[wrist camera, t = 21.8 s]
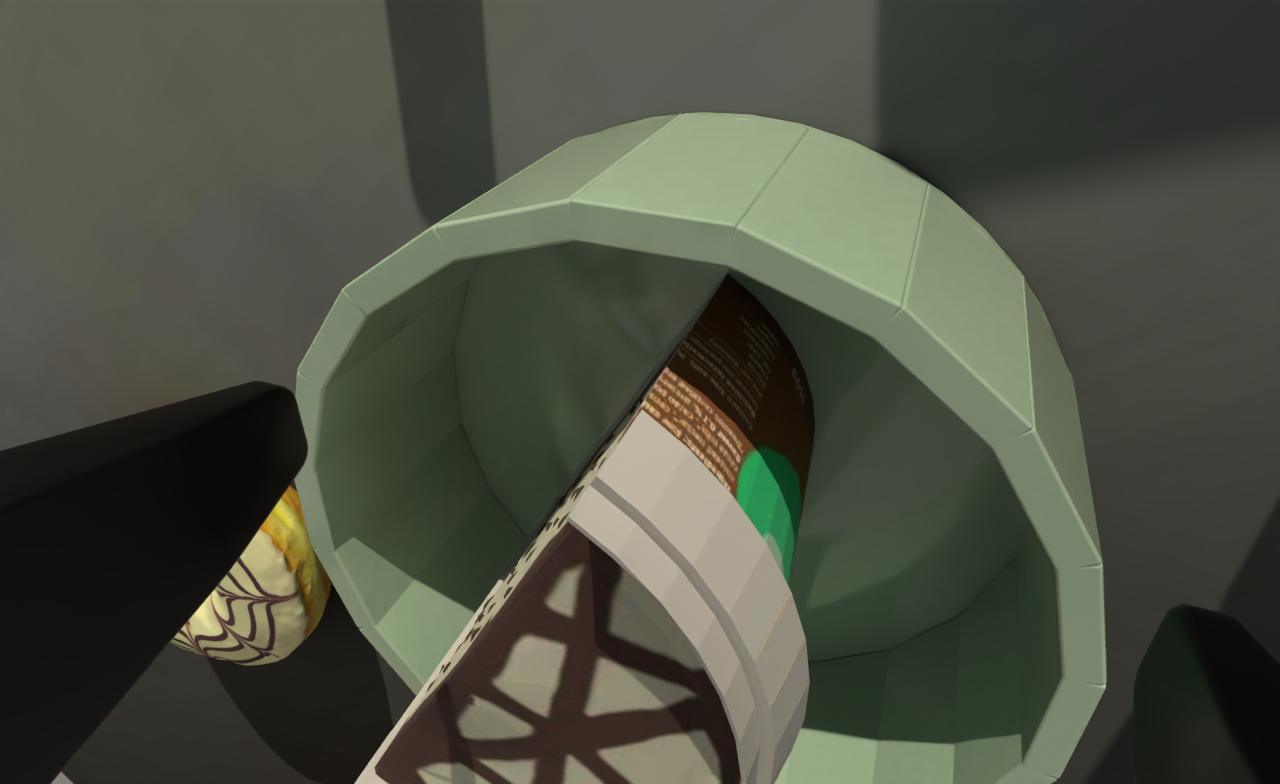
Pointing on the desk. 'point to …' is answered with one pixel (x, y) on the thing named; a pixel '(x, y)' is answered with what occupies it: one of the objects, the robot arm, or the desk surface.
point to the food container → (645, 592)
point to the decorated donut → (263, 595)
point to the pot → (843, 440)
